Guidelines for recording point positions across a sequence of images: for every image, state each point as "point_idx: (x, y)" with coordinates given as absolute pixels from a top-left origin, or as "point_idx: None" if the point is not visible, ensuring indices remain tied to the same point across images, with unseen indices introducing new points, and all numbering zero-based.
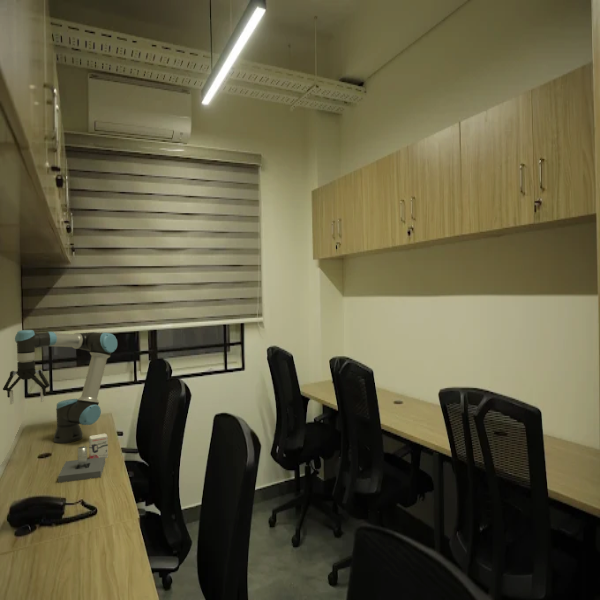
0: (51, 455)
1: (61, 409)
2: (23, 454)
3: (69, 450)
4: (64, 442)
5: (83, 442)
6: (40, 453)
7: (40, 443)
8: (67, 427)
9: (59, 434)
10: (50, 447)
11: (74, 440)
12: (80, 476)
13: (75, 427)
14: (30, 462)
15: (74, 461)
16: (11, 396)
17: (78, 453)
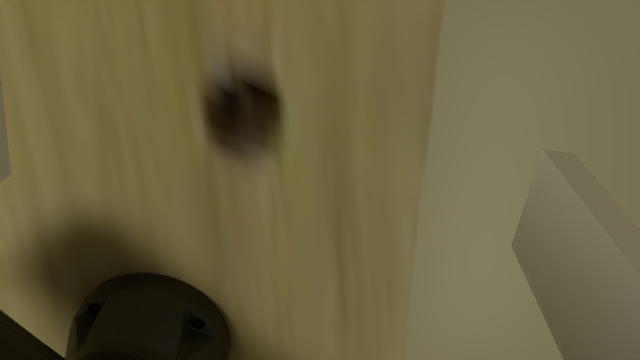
0: (203, 95)
1: None
2: (372, 190)
3: (108, 138)
4: (161, 277)
5: (52, 242)
6: (275, 163)
7: (298, 329)
8: (115, 350)
9: (178, 328)
10: (232, 241)
11: (107, 283)
12: None
13: (74, 354)
14: (315, 20)
15: None
16: (606, 235)
17: None
